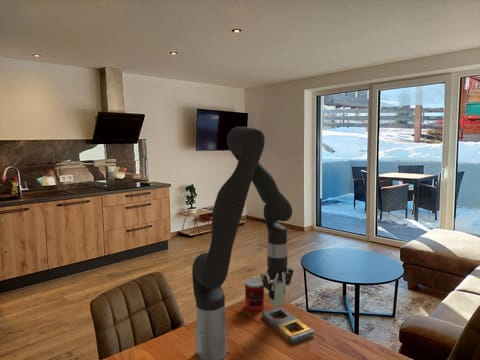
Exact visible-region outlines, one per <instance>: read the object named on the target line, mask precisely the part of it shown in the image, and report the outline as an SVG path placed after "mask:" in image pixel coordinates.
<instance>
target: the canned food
mask: <svg viewBox="0 0 480 360" xmlns="http://www.w3.org/2000/svg"><path fill="white" fill-rule="evenodd" d="M244 290H245V291H244V292H245V293H244V295H245V307H246V309H247V310H248V311H250V312H253V313H254V312H261V311H263V310H264V307H265V287H264V285H263V282H262V279H261V278H258V277H252V278H248V279H246V280H245V281H244Z"/></svg>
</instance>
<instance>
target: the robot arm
mask: <svg viewBox="0 0 480 360" xmlns="http://www.w3.org/2000/svg"><path fill="white" fill-rule="evenodd" d="M226 143H227V144H226V145H227V148H228V150H229V151H230V153H232V155H233V156H234V159H236V160H237V164H236V167H235V169H234V171H233V173H232V174H231V175H230V176H229V178H228V179H227V180H226V181H225V182H224V183H223V184H222V186H221V188H220V189H219V191H218V192H217V195H216V198H215V201H214V205H213V206H212V207H213V208H212V213H211V241H210V245H209V249H208V252H203V253H200V254H198V255H197V256H196V258H195V259H194V261H193V263H192V267H191V269H192V270H191V274H192V275H191V276H192V288H193V294H194V298H195V308H196V309H195V310H196V311H195V312H196V325H195V326H194V331H195V333H194V334H195V353H196V355H197V356H198V358H199V360H222V359H224V358H225V357H226V355H227V328H226V327H227V325H226V299H225V298H226V297H225V293H224V290H223V289H222V288H223V287H222V285H223V284H224V282H225V281H226V279H227V276H228V274H229V268H230V263H231V257H232V252H233V246H234V243H235V240H236V235H237V233H238V229H239V224H240V222H241V219H242V215H243V212H244V208H245V205H246V201H247V197H248V194H249V191H250V187H251V184H253V186H254V187H255V189H256V192H257V193H258V195H259V197H260V199H261V201H262V202H263V203H265V204H264V206H263V216H264V217H263V218H264V220H265V221H264V222H265V224H266V229H267V249H266V252H267V253H266V257H267V258H266V265H267V270H266V272H265V273H261V274H260V279H261V280H262V282H263V285H264V289H266V290H268V297H269V299H270V298H271V299H272V300H273V299H274V285H275V284H276V282H277V281H278V280H281V281H282V282H285V284H284V296H285V294H286V287H287V286H290V284H291V281H292V278H293V275H294V269H291V268H290V267H288V230H287V228H286V227H285V226H284V225H282V224H281V223H280V222H287V221H290V220H291V217H292V215H293V208H292V205H291V202H289V200H288V199H287V198H286V197H285V196H284V194H283V193H282V192H281V191H280V190H279V187H278V185H277V183H276V181H275V179H274V177H273V176H272V174H271V173H270V172H269V171H268V169H267V168H266V167H265V166H264V165H263V164H262V163H261V162H260V160H261V158H262V155H263V152H264V149H265V148H264V147H265V143H266V139H265V134H264V133H263V131H262V130H261V129H259V128H256V127H248V126H236V127H233V128H232V129H231V130H229V132H228V133H227V137H226Z"/></svg>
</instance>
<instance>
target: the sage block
mask: <svg viewBox="0 0 480 360" xmlns="http://www.w3.org/2000/svg"><path fill="white" fill-rule="evenodd" d="M284 284H285V282H282V281H281V280H278V281H277V282H276V284H275V285H274V299H273V300H272V299H271V298H270V297H269V304H271V306H273V307H274V308H277V307H283V306H284V305H285V295H284Z"/></svg>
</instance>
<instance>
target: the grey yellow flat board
mask: <svg viewBox="0 0 480 360" xmlns="http://www.w3.org/2000/svg"><path fill="white" fill-rule="evenodd" d="M279 316H282V317H283V318H280V319H276V318H275V317H279ZM261 318H262V319H264V320H265V321H266V322H267V323H268V324H269V325H270V326H272V328H273V329H275V330H276V331H277V332H278V333H279V334H280V335H281V336H282V337H283V338H285V339H286V340H287V341H288V342H289V343H291V345H294V344H297V343H300V342H302V341H305V340H309V339H311V338H314V330H313V329H312V328H311V327H308V325H306V324H305V323H303V322H302V321H301V320H300V319H299V318H297V317H295V315H293V314H291V313H290V312H289V311H288V310H287V309H285V307H284V308H283V306H279V307H274V308H271V309H268V310H265V311H262V312H261ZM294 328H296V329H298V330H299V331H296V332H293V333H292V332H291V331H290V330H293V329H294Z"/></svg>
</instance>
